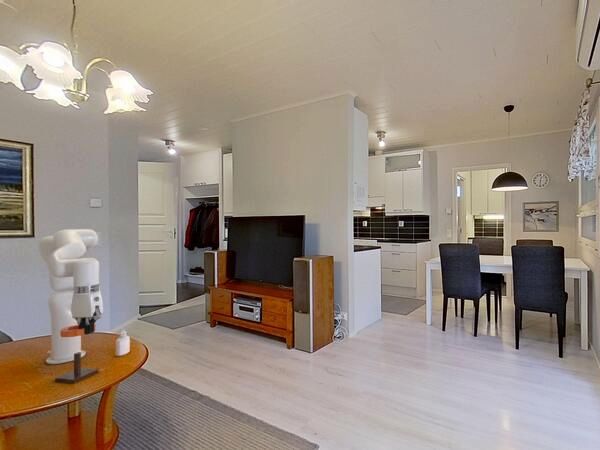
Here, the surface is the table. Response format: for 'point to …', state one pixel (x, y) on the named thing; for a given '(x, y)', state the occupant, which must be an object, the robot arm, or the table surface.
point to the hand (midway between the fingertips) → (86, 333)
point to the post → (77, 372)
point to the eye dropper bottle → (122, 344)
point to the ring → (73, 331)
